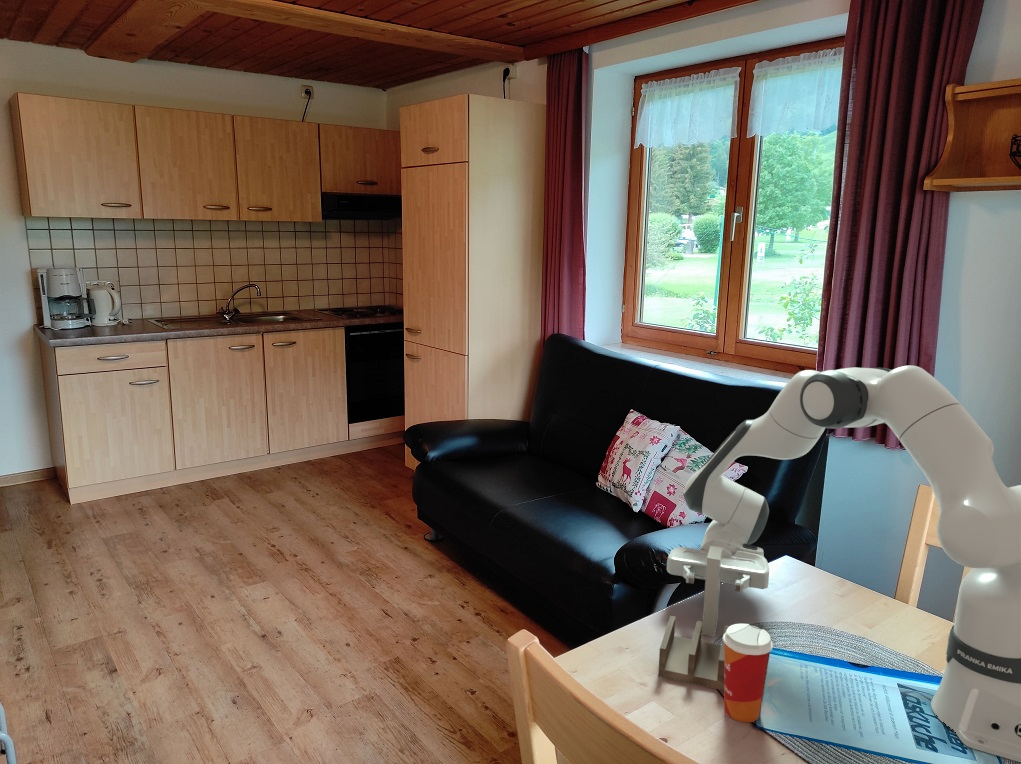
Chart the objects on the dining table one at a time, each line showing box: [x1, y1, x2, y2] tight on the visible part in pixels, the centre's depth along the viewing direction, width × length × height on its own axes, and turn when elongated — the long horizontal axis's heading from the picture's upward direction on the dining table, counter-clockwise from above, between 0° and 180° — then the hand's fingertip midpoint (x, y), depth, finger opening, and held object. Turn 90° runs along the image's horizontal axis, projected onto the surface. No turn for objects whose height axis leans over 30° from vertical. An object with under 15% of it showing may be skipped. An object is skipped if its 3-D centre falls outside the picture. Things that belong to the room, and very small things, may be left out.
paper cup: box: [722, 623, 774, 724], centre depth 122 cm, size 8×8×14 cm
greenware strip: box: [702, 546, 723, 637], centre depth 147 cm, size 2×6×16 cm, turn 160°
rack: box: [657, 615, 729, 691], centre depth 135 cm, size 16×12×6 cm
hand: (713, 584), depth 148 cm, fingers open, 8 cm apart
